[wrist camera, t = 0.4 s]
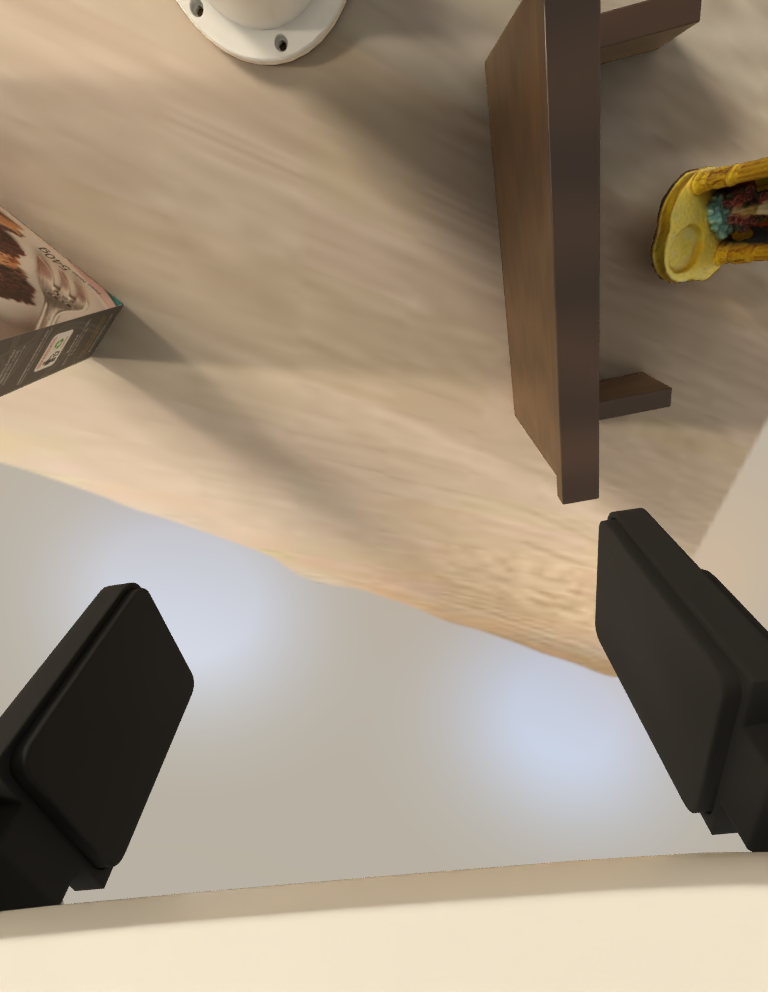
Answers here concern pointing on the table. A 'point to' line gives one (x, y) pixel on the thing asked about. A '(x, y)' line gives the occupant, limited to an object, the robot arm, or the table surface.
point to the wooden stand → (563, 218)
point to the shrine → (712, 221)
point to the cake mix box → (44, 308)
